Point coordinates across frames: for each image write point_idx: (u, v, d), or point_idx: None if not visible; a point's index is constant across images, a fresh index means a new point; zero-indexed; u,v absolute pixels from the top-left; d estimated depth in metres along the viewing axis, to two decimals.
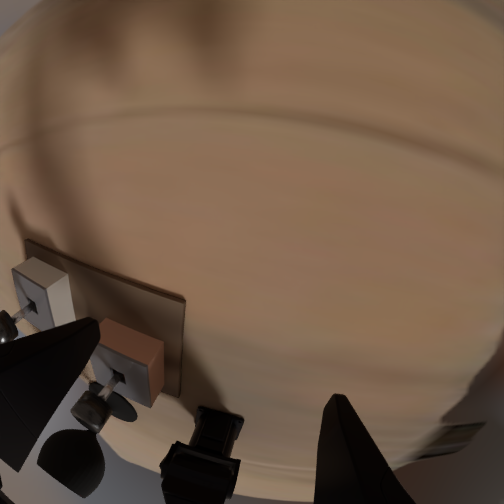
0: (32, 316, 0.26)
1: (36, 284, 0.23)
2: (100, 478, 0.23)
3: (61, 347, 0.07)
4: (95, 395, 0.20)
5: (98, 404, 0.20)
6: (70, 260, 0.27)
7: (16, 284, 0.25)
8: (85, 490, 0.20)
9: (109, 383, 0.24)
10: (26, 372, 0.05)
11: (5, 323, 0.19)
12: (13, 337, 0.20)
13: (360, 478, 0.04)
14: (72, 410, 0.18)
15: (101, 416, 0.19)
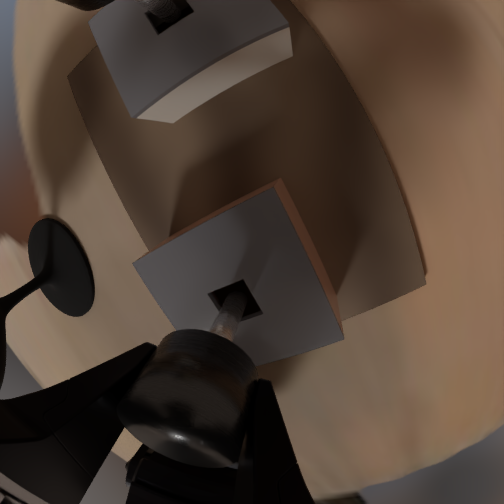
0: (126, 28, 0.09)
1: None
2: None
3: (124, 382, 0.06)
4: (252, 367, 0.08)
5: None
6: (328, 52, 0.12)
7: None
8: None
9: (235, 321, 0.11)
10: (89, 417, 0.05)
11: None
12: None
13: (256, 469, 0.05)
14: (173, 411, 0.05)
15: None
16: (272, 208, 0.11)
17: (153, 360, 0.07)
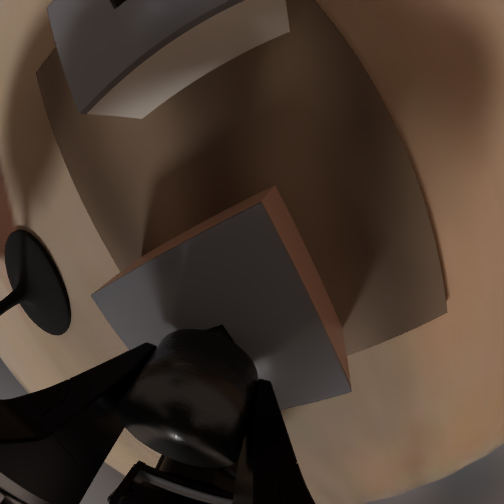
0: (82, 8, 0.05)
1: None
2: None
3: (124, 382, 0.06)
4: (252, 367, 0.08)
5: None
6: (335, 28, 0.08)
7: None
8: None
9: None
10: (89, 417, 0.05)
11: None
12: None
13: (256, 469, 0.05)
14: (173, 411, 0.05)
15: None
16: (259, 233, 0.08)
17: (153, 360, 0.07)
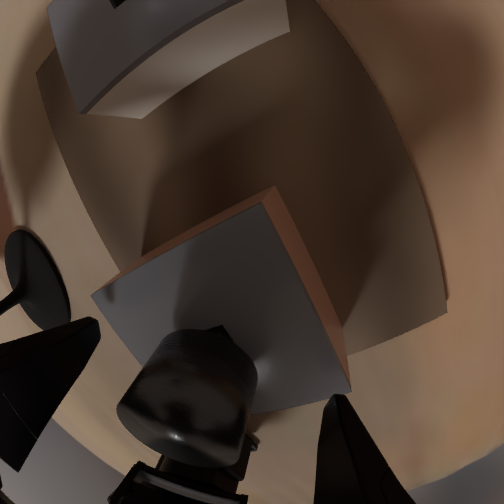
0: (82, 8, 0.05)
1: None
2: None
3: (61, 347, 0.07)
4: (252, 367, 0.08)
5: (253, 398, 0.07)
6: (335, 28, 0.08)
7: None
8: None
9: None
10: (26, 372, 0.05)
11: None
12: None
13: (360, 478, 0.04)
14: (173, 411, 0.05)
15: None
16: (259, 233, 0.08)
17: (153, 360, 0.07)
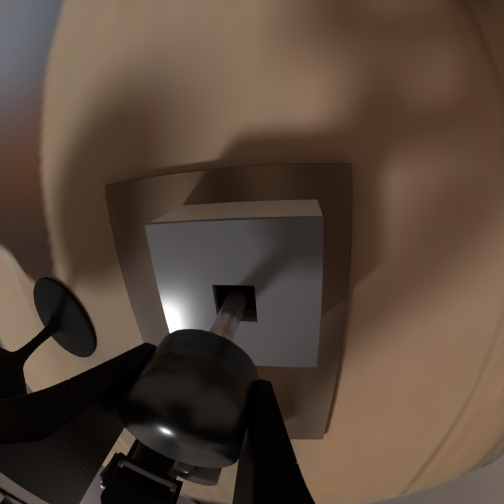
0: (189, 286, 0.13)
1: None
2: None
3: (124, 383, 0.06)
4: None
5: None
6: (343, 325, 0.17)
7: (272, 234, 0.11)
8: None
9: None
10: (89, 417, 0.05)
11: None
12: None
13: (256, 469, 0.05)
14: (203, 474, 0.14)
15: None
16: None
17: None
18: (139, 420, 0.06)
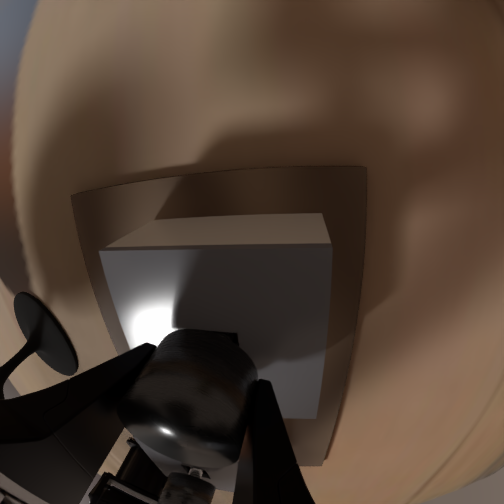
0: (156, 327, 0.10)
1: None
2: None
3: (124, 382, 0.06)
4: (214, 489, 0.14)
5: None
6: (349, 360, 0.14)
7: (260, 269, 0.08)
8: None
9: None
10: (89, 417, 0.05)
11: None
12: None
13: (256, 469, 0.05)
14: None
15: None
16: (236, 465, 0.13)
17: (178, 488, 0.12)
18: (139, 420, 0.06)
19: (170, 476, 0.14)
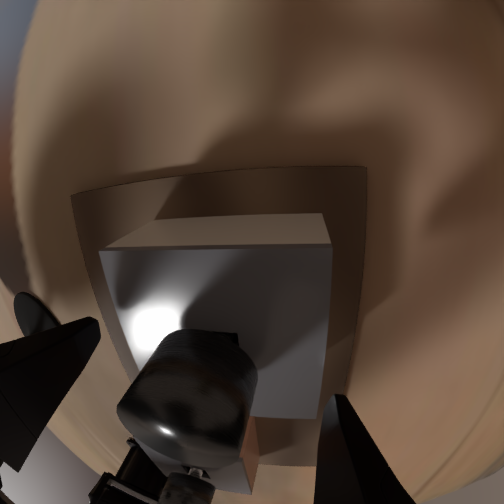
0: (156, 327, 0.10)
1: None
2: None
3: (61, 347, 0.07)
4: (214, 489, 0.14)
5: None
6: (349, 360, 0.14)
7: (260, 269, 0.08)
8: None
9: None
10: (26, 372, 0.05)
11: None
12: None
13: (360, 478, 0.04)
14: None
15: None
16: (236, 465, 0.13)
17: (178, 488, 0.12)
18: (139, 420, 0.06)
19: (170, 476, 0.14)
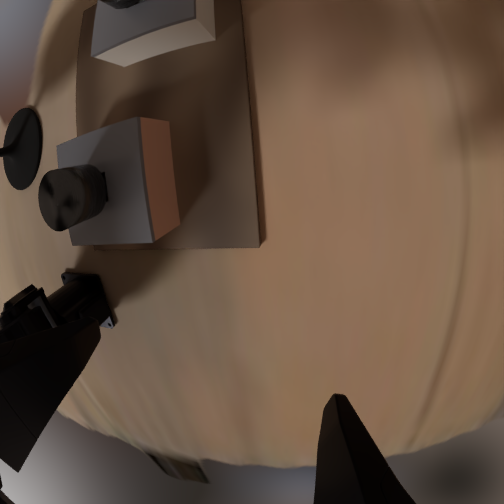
0: None
1: None
2: None
3: (61, 347, 0.07)
4: (104, 190, 0.14)
5: (96, 205, 0.14)
6: (243, 42, 0.15)
7: None
8: None
9: None
10: (26, 372, 0.05)
11: None
12: (113, 4, 0.09)
13: (360, 478, 0.04)
14: (61, 176, 0.11)
15: (83, 220, 0.14)
16: (132, 129, 0.14)
17: None
18: None
19: None
